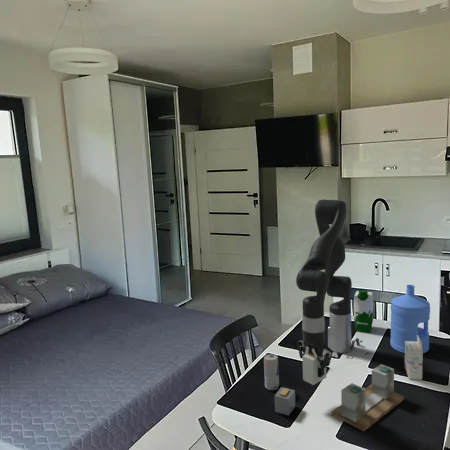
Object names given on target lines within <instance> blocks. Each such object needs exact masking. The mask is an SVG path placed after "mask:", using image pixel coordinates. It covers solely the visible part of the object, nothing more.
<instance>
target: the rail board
mask: <svg viewBox="0 0 450 450" xmlns="http://www.w3.org/2000/svg"><path fill="white" fill-rule="evenodd" d="M340 392H341V393H340V395H341V401H340V402H341V404H340V405H339V406H338V407H336V408H335V409H333V410H332V411H331V416H333V417H335V418H337V419H339V420H341V421H342V422H345V423H347V424H349V425H350V426H353V427H354V428H356V429H358V430H360V431H362V432H365V431H367V429H369V428H370V427H372V426H373V425H374V424H375V423H376V422H378V421H379V420H380V419H381V418H382V417H384V416H386V415H387V413H389V412H390V411H391V410H393V409H394V408H396V406H398V405H399V404H401V403H402V402H403V401H404V400H405V396H404V395H401V394H400V393H398V392H395V368H392V367H390V366H387V365H384V364H379V365H377V366H376V367H374V368H373V369H372V370H371V384H369V385H368V386H367V387H362V386H360V385H357V384H355V383H350V384H348V385H346V386H345V387H344V388H342V389H341V391H340Z"/></svg>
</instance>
